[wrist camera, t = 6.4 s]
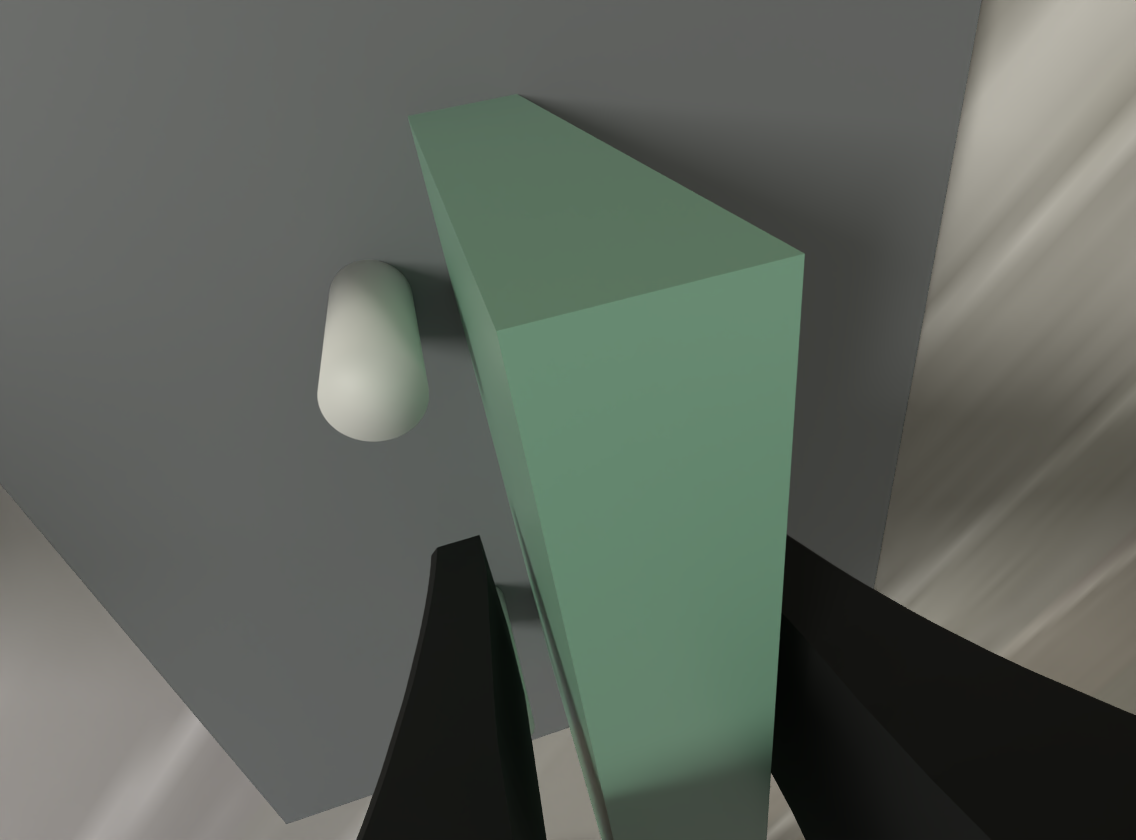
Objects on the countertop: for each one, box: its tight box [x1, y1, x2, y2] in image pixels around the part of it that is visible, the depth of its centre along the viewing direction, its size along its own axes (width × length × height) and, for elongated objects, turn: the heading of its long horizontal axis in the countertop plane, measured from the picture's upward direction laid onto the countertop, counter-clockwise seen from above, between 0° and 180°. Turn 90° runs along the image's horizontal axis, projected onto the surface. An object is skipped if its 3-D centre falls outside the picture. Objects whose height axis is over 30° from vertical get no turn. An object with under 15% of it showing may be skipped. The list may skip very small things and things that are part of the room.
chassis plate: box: [0, 0, 982, 824], centre depth 11 cm, size 18×16×4 cm
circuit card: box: [408, 94, 805, 840], centre depth 9 cm, size 12×2×7 cm, turn 9°
